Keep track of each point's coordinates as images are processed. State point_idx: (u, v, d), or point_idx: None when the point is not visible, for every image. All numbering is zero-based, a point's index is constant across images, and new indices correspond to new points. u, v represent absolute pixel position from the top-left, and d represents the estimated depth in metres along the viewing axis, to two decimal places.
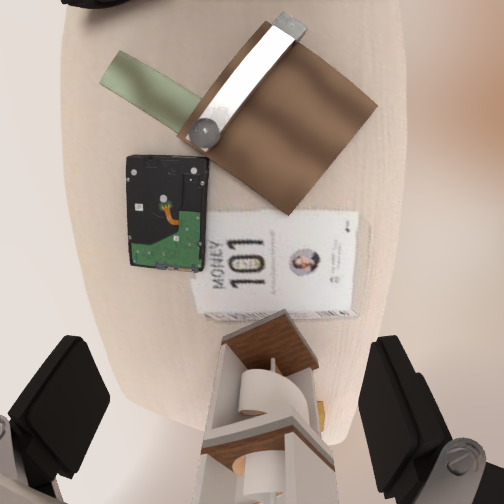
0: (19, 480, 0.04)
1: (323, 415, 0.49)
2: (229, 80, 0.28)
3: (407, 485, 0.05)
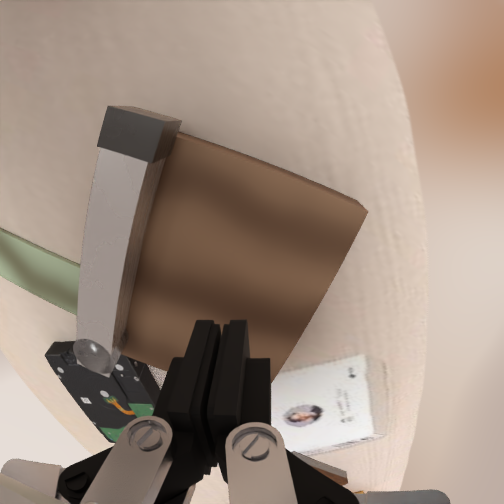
0: None
1: None
2: (81, 280, 0.16)
3: None
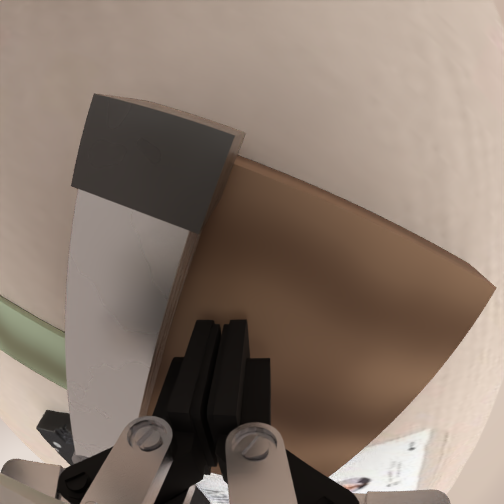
0: None
1: None
2: (72, 402, 0.09)
3: None
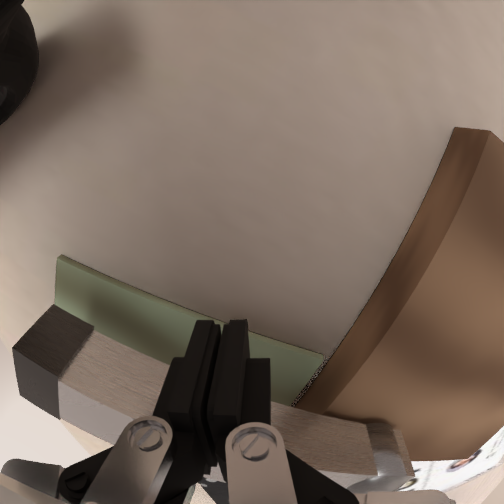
0: None
1: None
2: None
3: None
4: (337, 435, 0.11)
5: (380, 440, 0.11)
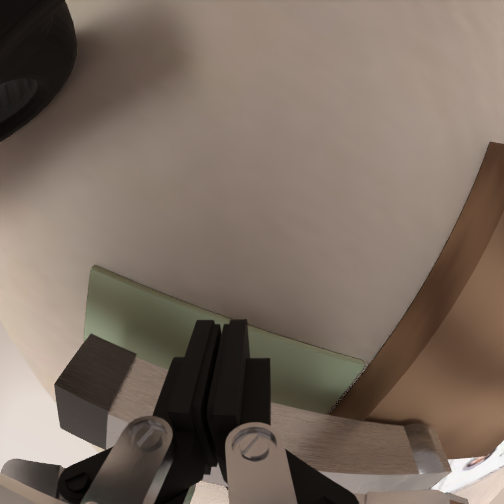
0: None
1: None
2: None
3: None
4: (380, 439, 0.11)
5: (418, 440, 0.11)
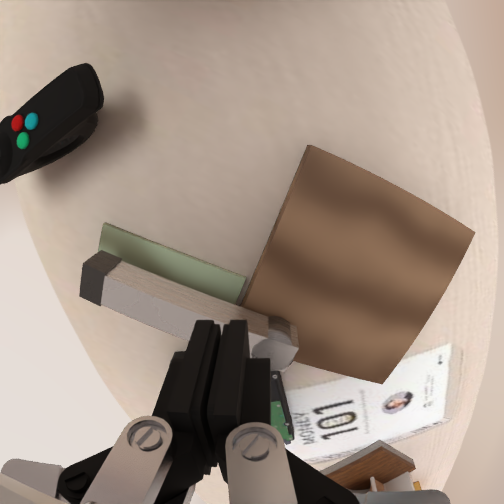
0: None
1: None
2: None
3: None
4: (245, 315, 0.24)
5: (275, 323, 0.24)
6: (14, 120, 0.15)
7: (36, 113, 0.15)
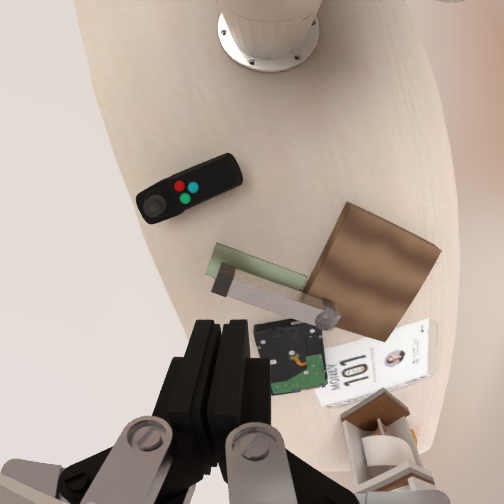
0: None
1: (415, 440, 0.56)
2: (282, 314, 0.40)
3: None
4: (310, 298, 0.41)
5: (326, 303, 0.41)
6: (178, 184, 0.32)
7: (196, 182, 0.33)
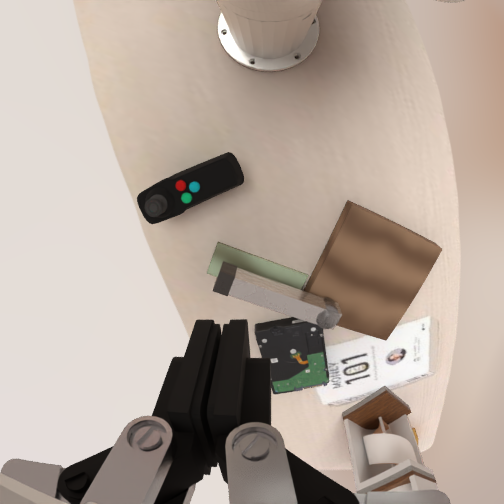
0: None
1: (417, 438, 0.56)
2: (283, 312, 0.40)
3: None
4: (312, 297, 0.41)
5: (327, 301, 0.42)
6: (179, 184, 0.32)
7: (197, 182, 0.33)
